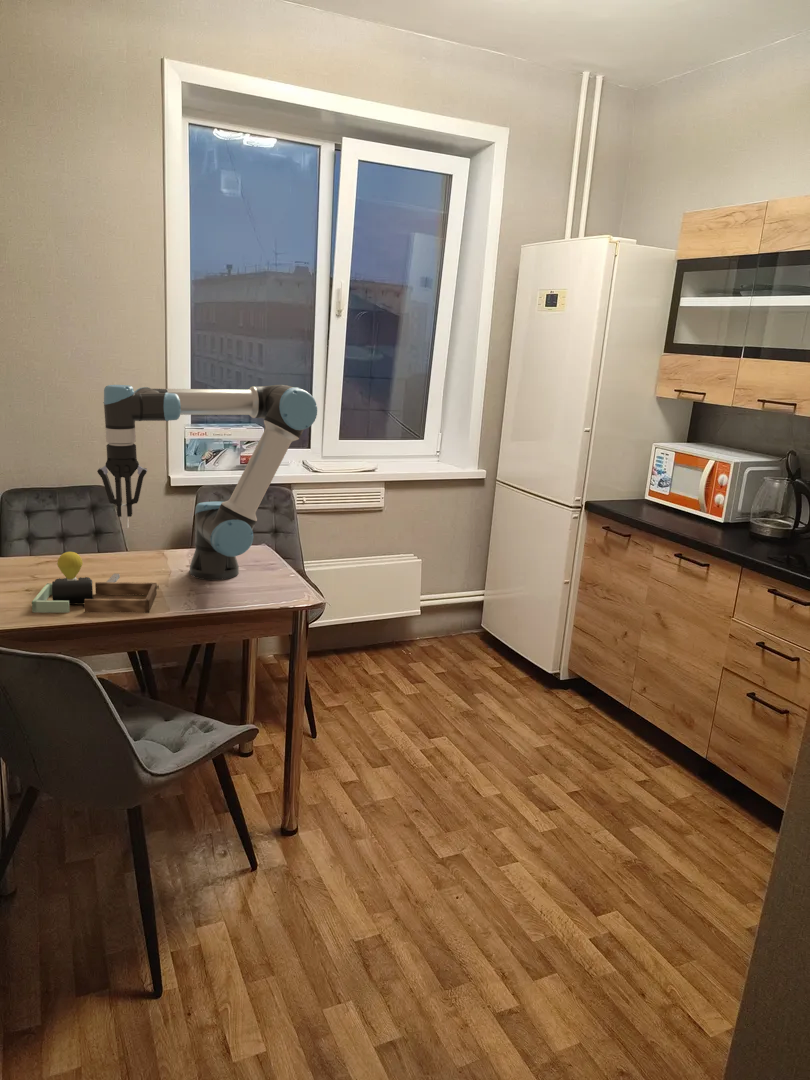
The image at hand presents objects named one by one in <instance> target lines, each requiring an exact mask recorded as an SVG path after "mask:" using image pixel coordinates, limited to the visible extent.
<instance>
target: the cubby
mask: <svg viewBox="0 0 810 1080" xmlns="http://www.w3.org/2000/svg"><path fill="white" fill-rule="evenodd" d="M157 584H158V583H157V582H133V581H132V582H128V581H127V582H122V581H121V582H119V581H116V582H107V581H106V582H105V581H96V582H95V583H94V585H95V595H96V596H146V597H145V598H143V599H141V598H138V599H137V598H130V599H129V598H93V599H85V600H84V603H83V604H84V605H83V606H84V613H89V614H90V613H94V614H95V613H97V614H99V613H100V614H101V613H103V614H104V613H107V614H110V613H112V614H113V613H115V614H116V613H117V614H118V613H119V614H120V613H121V614H123V613H124V614H126V613H128V614H129V613H130V614H131V613H132V614H134V613H135V614H137V613H138V614H139V613H140V614H142V613H143V614H149V613H150V612H151V609H152V607H153V604H154V602H155V599H156V597H157V594H158V591H157V590H158V589H157ZM144 612H145V613H144Z"/></svg>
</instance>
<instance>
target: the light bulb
mask: <svg viewBox="0 0 810 1080" xmlns="http://www.w3.org/2000/svg"><path fill="white" fill-rule="evenodd" d="M82 566H83V559H82V557H81V555H79V554H78V553H77V552H74V551H66V552H64V553H62V554H60V556H59V557H58V559H57V567H58V569H59V570H60V572H61V573H62V574H63V576H64V578H67V581H71V580H78V578H77V577H76V576H77V575H78V574H79V572H80V570H81V568H82Z"/></svg>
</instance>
